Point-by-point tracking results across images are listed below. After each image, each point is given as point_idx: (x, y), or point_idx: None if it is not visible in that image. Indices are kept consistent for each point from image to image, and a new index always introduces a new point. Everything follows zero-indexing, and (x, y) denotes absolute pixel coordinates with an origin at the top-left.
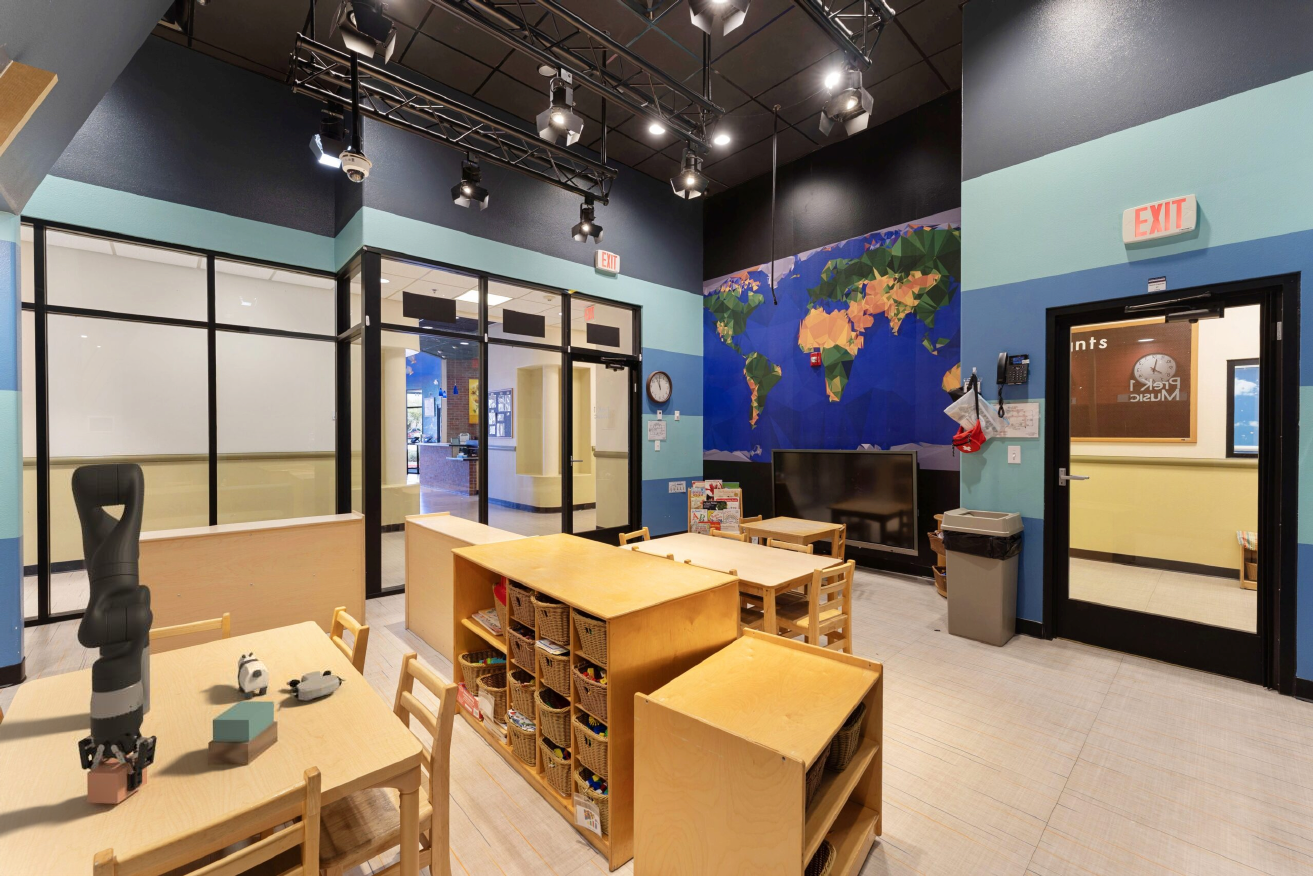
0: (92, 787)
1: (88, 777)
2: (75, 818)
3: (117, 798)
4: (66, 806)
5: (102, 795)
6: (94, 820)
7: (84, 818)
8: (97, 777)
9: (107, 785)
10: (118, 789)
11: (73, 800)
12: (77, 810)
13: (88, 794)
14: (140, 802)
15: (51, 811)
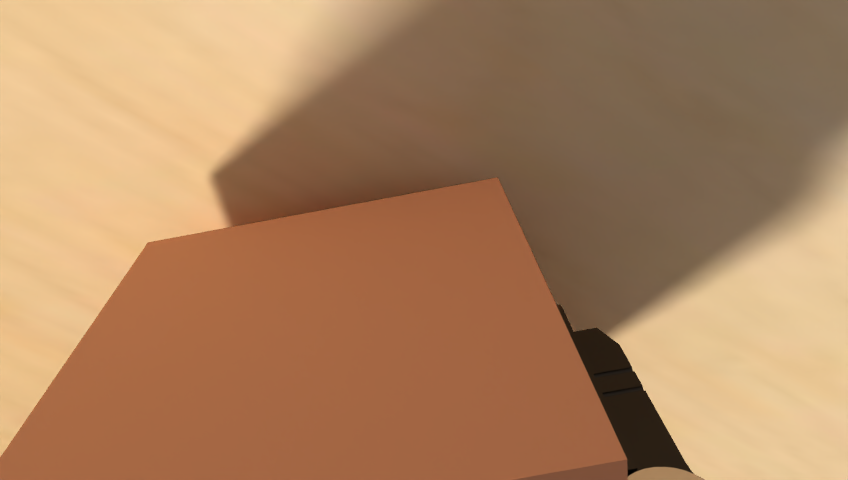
0: (459, 288)
1: (570, 387)
2: (433, 6)
3: (126, 274)
4: (737, 126)
5: (310, 255)
6: (177, 30)
7: (332, 29)
8: (374, 425)
9: (218, 358)
10: (79, 352)
11: (754, 202)
12: (558, 107)
13: (506, 225)
14: (78, 324)
15: (821, 33)
